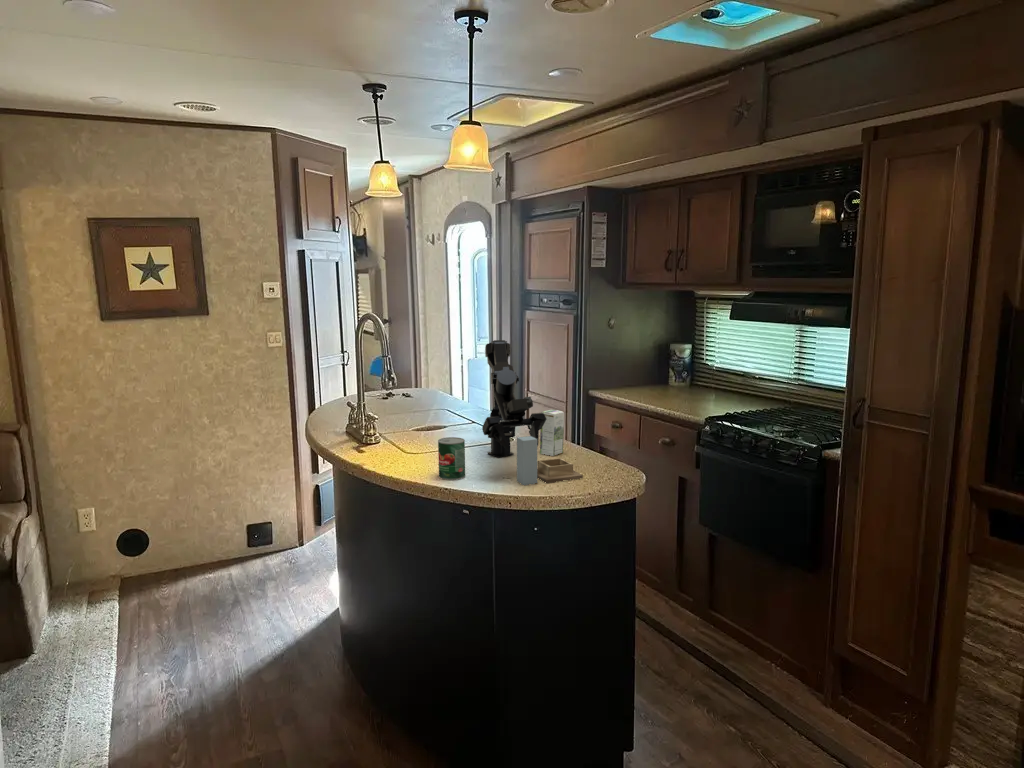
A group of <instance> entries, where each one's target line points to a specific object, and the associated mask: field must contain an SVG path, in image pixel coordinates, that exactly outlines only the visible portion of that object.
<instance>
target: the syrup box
mask: <svg viewBox="0 0 1024 768" xmlns="http://www.w3.org/2000/svg"><path fill="white" fill-rule="evenodd" d="M540 413H544V414H545V416H546V419H547V420H546V421H545V423H544V425H543V427H542V428H541V429H540V430H539V433H540V435H539V437H540V438H539V439H540V441H539V454H540V455H544V454H545V455H544V456H549V455H550V457H556V456H559V455H561V454H560V453H562V454H564V439H565V438H564V437H565V435H564V434H565V433H564V432H565V412H564V411H562V410H557V409H549V410H544V411H541V412H540ZM558 454H559V455H558ZM555 455H556V456H555Z"/></svg>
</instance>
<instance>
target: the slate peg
mask: <svg viewBox="0 0 1024 768" xmlns="http://www.w3.org/2000/svg"><path fill="white" fill-rule="evenodd" d="M537 469H538V447H537V439H536V438H534V437H532V436H530V435H529V436H517V437H516V482H517V481H518V482H519V484H520V483H521V484H520V485H522V486H523V485H524V486H530V485H529V484H531V485H536V484H535V483H537V484H538V478H537ZM518 482H517V483H518Z"/></svg>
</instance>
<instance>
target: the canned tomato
mask: <svg viewBox="0 0 1024 768" xmlns="http://www.w3.org/2000/svg"><path fill="white" fill-rule="evenodd" d="M465 441H466V440H465V438H461V437H454V436H451V437H443V438H439V439H438V440H437V448H438V450H437V451H438V452H437V453H438V457H437V458H438V478H439V477H440V478H439V479H441V478H442V479H441V480H444V479H446V480H445V481H457V480H456V479H458V480H462V479H464V478H465V477H466V447H465V444H466V443H465ZM463 477H464V478H463ZM461 478H462V479H461ZM447 479H448V480H447Z"/></svg>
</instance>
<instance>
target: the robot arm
mask: <svg viewBox="0 0 1024 768" xmlns="http://www.w3.org/2000/svg"><path fill="white" fill-rule="evenodd" d="M484 351H485V353H484V355H485V358H487V364H488V366H489V367H490V369H491V370H492V372H490V384H491V385H492V391H493V393H492V395H493V408H492V410H491V411H490V413H489V416H487V417H486V418H485V420H484V422H483V424H482V426H481V427H482V428H481V429H482V430H481V431H482V433H483V435H484V436H487V438H488V439H490V451H487V455H489V456H493V457H496V458H503V457H504V458H505V457H509V456H512V455H514V454H515V453H514V452H511V438H514V437H516V427H527V429H528V430H529V431H528V433H529V436H532V437H534V438H536V439H537V448H538V447H539V439H540V438H539V437H540V435H539V433H540V429H541V428H542V427H543V425H544V423H545V421H546V420H547V419H546V416H545V414H544V413H541V412H534V413H533V412H532V413H531V414H530V415H529V418H524V417H525V416H526V411H528V410H529V409H531V408H532V407H534V403H533V399H532V396H524V397H523V398H517V399H516V397H515V394H514V393H515V391H516V384H518V382H520V377H519V376H518V375H517V372H514V371H515V370H514V366H513V365H511V364H510V363H509V357H510V356H511V353H512V352H511V351H512V350H511V343H508V341H507V340H504V339H497V340H496V339H495V340H492V341H491V342H489V343H487V344H485V347H484Z"/></svg>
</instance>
